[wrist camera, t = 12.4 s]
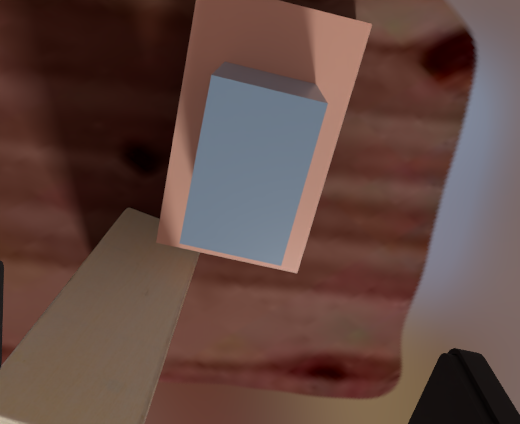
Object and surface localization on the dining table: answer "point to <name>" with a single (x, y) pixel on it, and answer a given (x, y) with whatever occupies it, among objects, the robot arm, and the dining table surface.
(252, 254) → the slate brick
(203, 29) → the pink and grey block
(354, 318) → the dining table surface
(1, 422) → the toy refrigerator
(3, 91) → the dining table surface
